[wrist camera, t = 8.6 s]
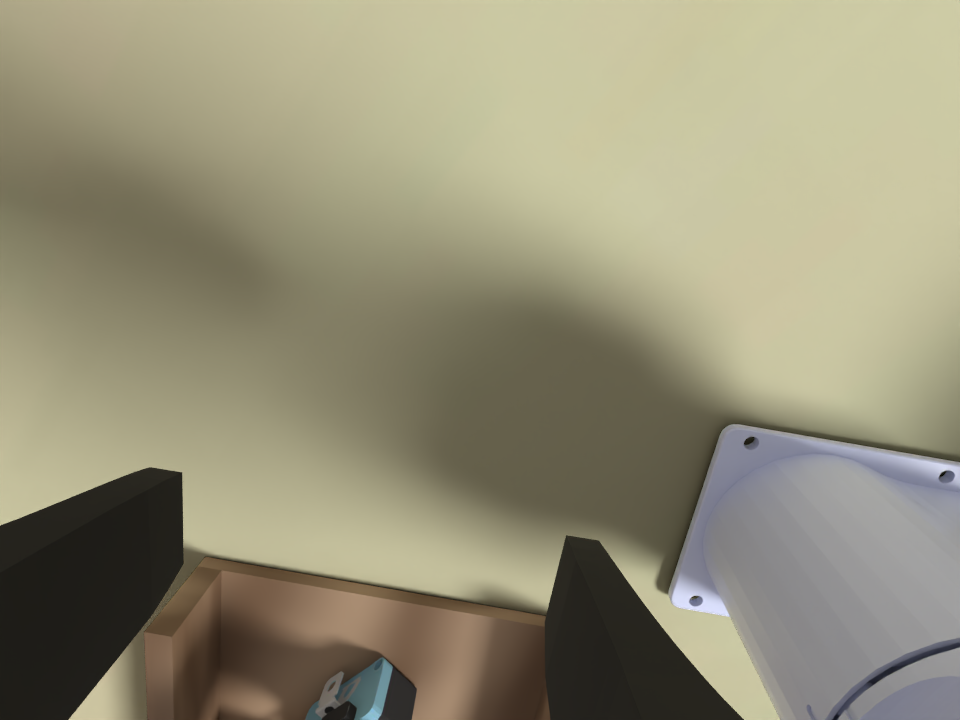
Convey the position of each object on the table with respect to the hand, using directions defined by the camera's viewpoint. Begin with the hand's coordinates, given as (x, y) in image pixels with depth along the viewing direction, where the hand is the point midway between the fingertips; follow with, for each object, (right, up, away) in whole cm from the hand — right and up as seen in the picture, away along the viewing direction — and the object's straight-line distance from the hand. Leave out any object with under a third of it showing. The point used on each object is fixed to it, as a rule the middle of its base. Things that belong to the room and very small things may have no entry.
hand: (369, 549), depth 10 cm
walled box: (-3, -13, +15) cm, 20 cm away
